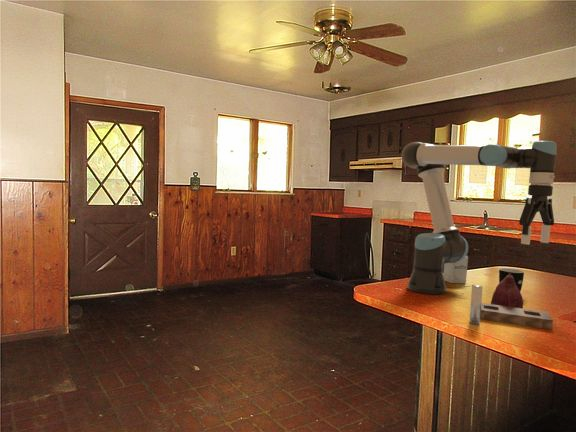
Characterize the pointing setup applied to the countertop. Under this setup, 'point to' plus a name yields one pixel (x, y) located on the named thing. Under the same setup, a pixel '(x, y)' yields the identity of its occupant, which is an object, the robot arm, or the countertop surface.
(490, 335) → the countertop surface
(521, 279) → the mug
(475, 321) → the pin
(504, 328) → the countertop surface
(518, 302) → the vegetable
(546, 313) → the board
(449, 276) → the supplement box
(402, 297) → the countertop surface
